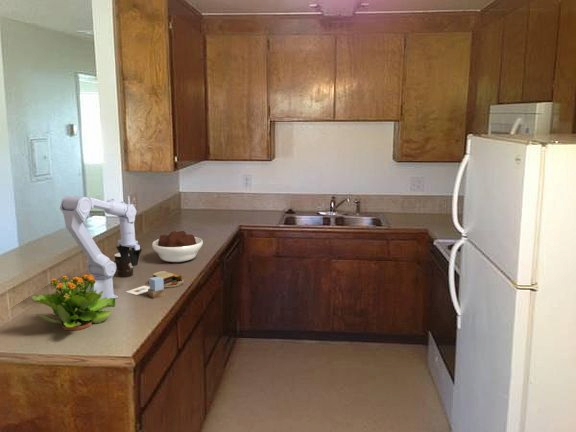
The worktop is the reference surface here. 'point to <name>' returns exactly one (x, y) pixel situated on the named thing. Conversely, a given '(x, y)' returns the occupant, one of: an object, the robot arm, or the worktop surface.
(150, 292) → the walnut block
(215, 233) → the worktop surface
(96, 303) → the potted flower
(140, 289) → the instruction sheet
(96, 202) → the robot arm
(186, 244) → the bowl of brownies
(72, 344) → the worktop surface
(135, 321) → the worktop surface
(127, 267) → the coffee mug
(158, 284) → the blue block
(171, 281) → the toy sandwich meal
